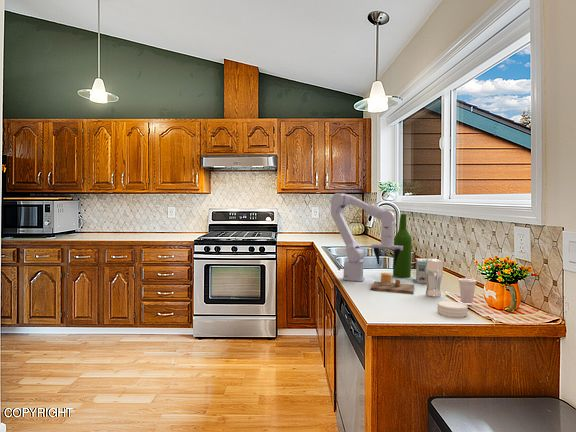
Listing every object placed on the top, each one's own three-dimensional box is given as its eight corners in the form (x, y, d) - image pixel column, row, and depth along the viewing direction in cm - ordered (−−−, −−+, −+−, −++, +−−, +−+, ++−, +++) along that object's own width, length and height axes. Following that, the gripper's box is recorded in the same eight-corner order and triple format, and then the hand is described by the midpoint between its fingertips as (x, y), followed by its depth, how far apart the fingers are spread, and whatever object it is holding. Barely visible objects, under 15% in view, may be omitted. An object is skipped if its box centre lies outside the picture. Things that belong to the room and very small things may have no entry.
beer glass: (441, 294, 170) (442, 259, 170) (442, 298, 164) (443, 261, 163) (424, 292, 173) (425, 258, 172) (424, 296, 166) (425, 260, 165)
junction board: (370, 290, 176) (370, 280, 176) (374, 283, 189) (374, 275, 189) (413, 293, 170) (413, 284, 170) (414, 287, 183) (414, 278, 183)
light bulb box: (432, 284, 191) (433, 261, 191) (417, 283, 192) (418, 261, 192) (429, 279, 202) (429, 258, 201) (415, 278, 203) (416, 257, 202)
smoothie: (454, 302, 157) (455, 267, 156) (470, 302, 157) (471, 267, 157) (463, 306, 151) (464, 270, 150) (479, 306, 151) (480, 270, 150)
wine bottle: (396, 273, 215) (398, 213, 214) (413, 276, 210) (414, 214, 209) (390, 276, 208) (392, 214, 207) (407, 278, 203) (409, 214, 201)
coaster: (473, 315, 140) (473, 305, 140) (456, 319, 135) (456, 309, 135) (448, 308, 149) (448, 299, 149) (431, 312, 143) (431, 302, 143)
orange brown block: (380, 283, 190) (380, 274, 190) (381, 281, 194) (381, 272, 194) (390, 284, 188) (391, 275, 188) (391, 282, 193) (391, 273, 192)
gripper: (370, 236, 189) (370, 264, 189) (402, 237, 184) (401, 266, 185) (372, 234, 195) (372, 262, 196) (403, 236, 191) (402, 264, 191)
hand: (386, 264), depth 191 cm, fingers open, 7 cm apart
